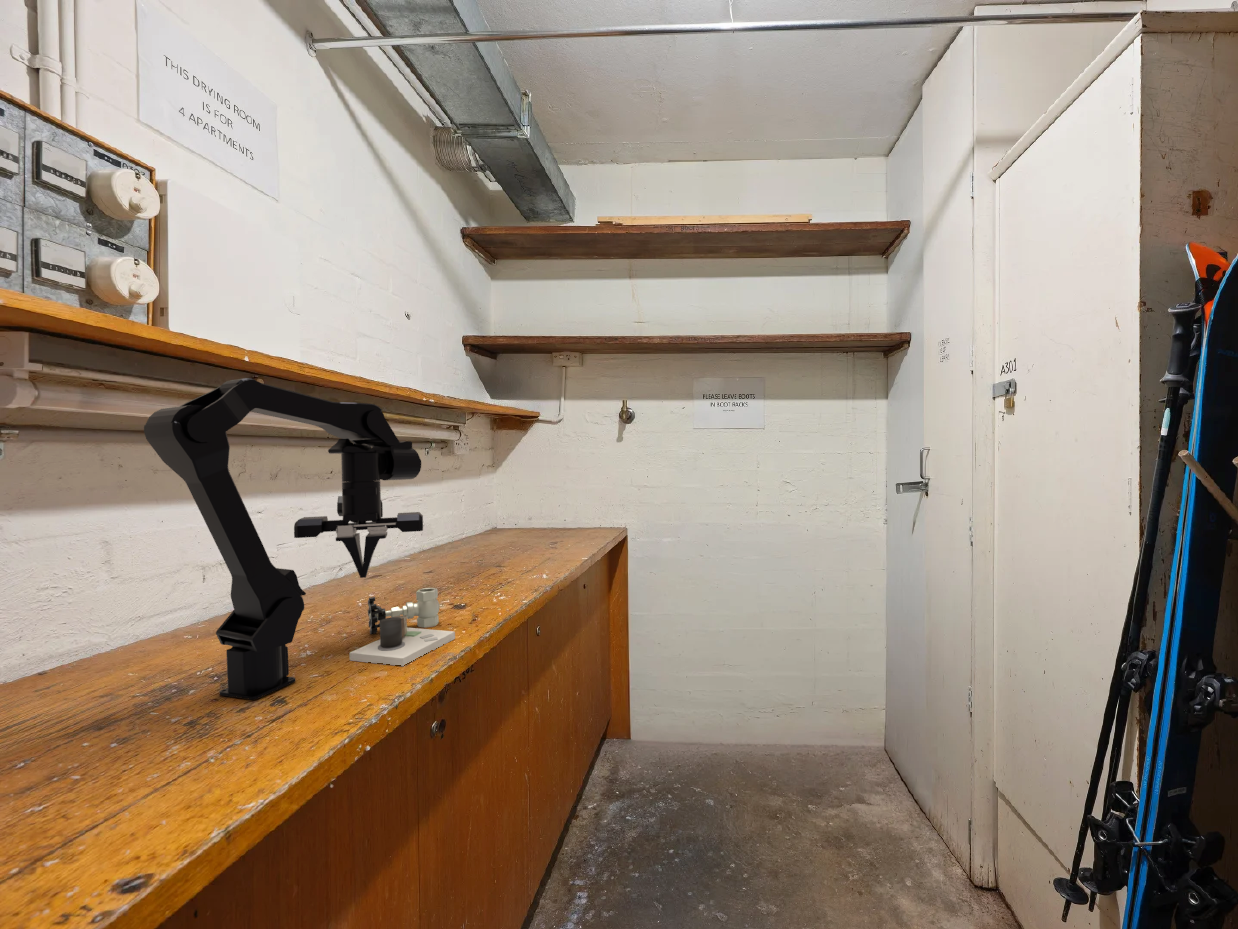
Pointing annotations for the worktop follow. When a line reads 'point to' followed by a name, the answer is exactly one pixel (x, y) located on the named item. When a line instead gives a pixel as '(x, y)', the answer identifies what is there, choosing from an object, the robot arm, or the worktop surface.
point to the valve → (408, 610)
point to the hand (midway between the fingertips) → (363, 577)
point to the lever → (392, 631)
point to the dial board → (403, 647)
